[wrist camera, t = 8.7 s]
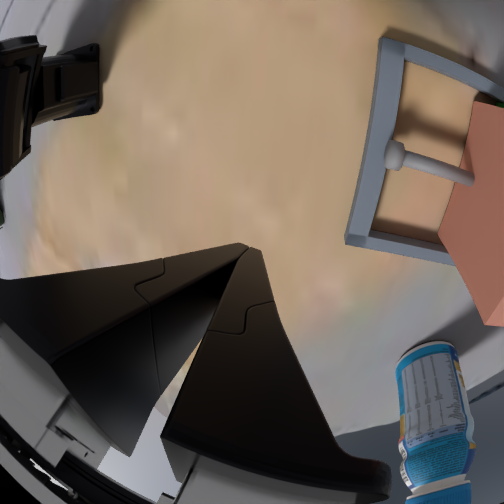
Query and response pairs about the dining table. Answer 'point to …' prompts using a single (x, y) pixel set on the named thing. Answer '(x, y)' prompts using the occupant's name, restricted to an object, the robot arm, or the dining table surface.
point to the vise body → (382, 131)
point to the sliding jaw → (472, 207)
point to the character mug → (1, 219)
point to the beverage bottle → (434, 425)
